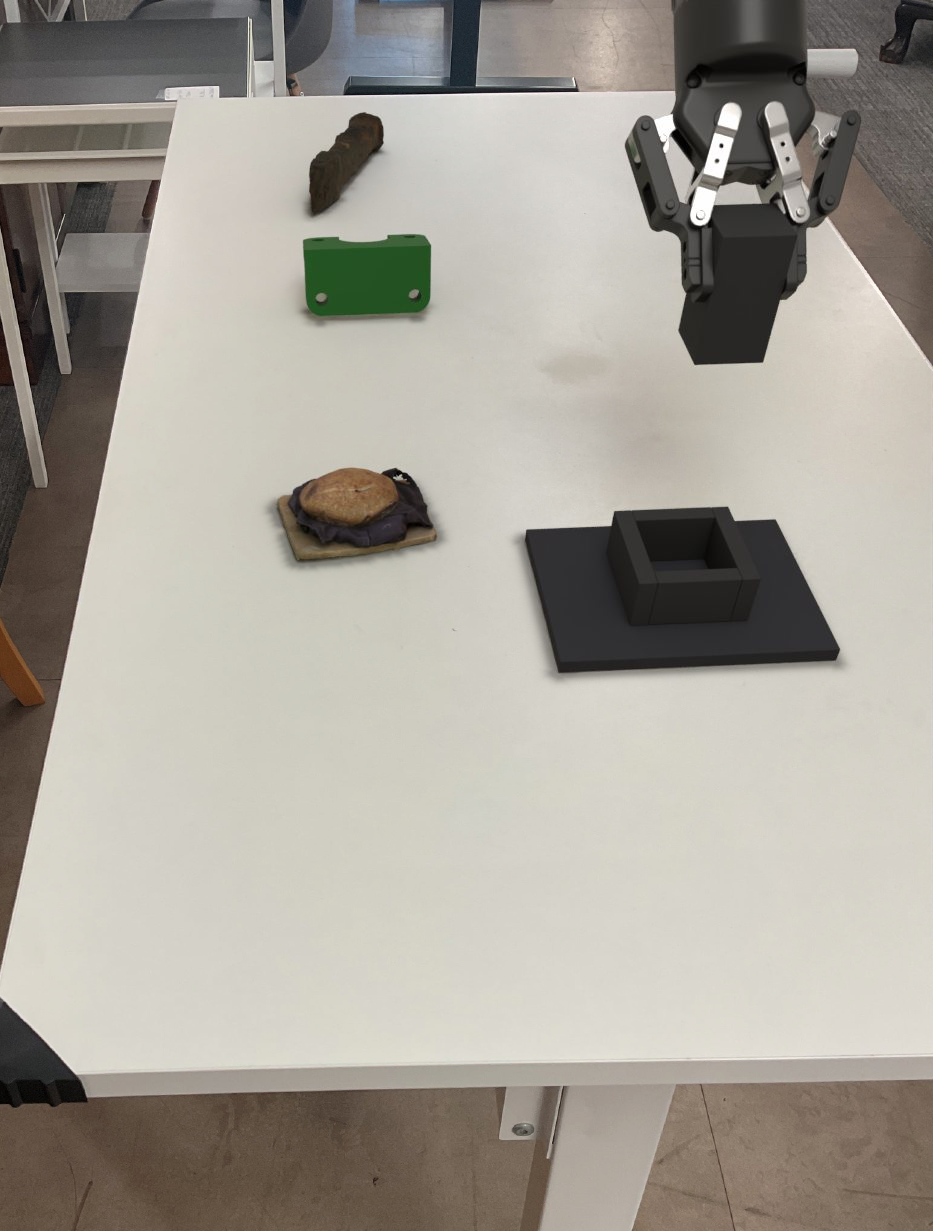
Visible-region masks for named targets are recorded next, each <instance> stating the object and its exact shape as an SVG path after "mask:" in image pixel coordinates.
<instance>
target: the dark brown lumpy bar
mask: <svg viewBox="0 0 933 1231" xmlns="http://www.w3.org/2000/svg"><path fill="white" fill-rule="evenodd" d="M347 126H348V127H347V128H346V129H345V130H344V131H343V132H340V133H339V134H337V135H335V139H334V144H332V146H331V147H330V148H329V150H320V151H319V152H318V153H316V155H315V157H314V158H312V160H311V162H310V164H309V172H308V178H309V185H308V193H309V195H310V198H309V199H310V213H311V214H315V213H319V212H321V211H323V210H324V209H326V208H328V207H329V206H330V205H331V204H332V203H334V202H335V201H337V200H339V199H340V195H341V189H342V186H344V185H345V183H346V182H347V181H348V180H349V179H350V178H351V177H352V176H354V175H355V173H356V171H357V169H358V168H359V167H360V165H362V164H363V163H364V162H365V161H366V159H367V158H368V157H369V155H370V154H371V153H378V152H379V151H380V149H381V148H382V147H383V145H384V144H385V142H384V136H385V130H384V125H383V121H382V119H381V118H380V117H379V116H378V115H374V114H372V113H368V112H365V111H363V112H358V113H357V114H354V115H353V116H351V117H350V118H349V120H348V125H347Z"/></svg>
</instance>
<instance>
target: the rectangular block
mask: <svg viewBox="0 0 933 1231" xmlns="http://www.w3.org/2000/svg"><path fill="white" fill-rule="evenodd" d="M708 228H713V264H714V291H713V293H712V295H711V296H710V297H709V298H708V299H707V300H706V301H705V302H694V303H693V302H692V300H691V293H685V296H684V301H683V306H682V311H681V315H680V320H679V326H678V330H677V331H678V333H679V336H680V337H681V340H682V342H683V344H684V346H685V349H686V351H687V353H688V355H689V357H690V358H691V362H692V363H693V365H694V366H706V365H707V366H708V365H710V366H711V365H736V364H738V365H739V364H741V365H742V364H763V363H764V361H765V358H766V353H767V350H768V347H769V343H770V339H771V336H772V331H773V328H774V326H775V325H774V324H775V321H776V317H777V313H778V310H779V306H780V303H781V300H780V299H781V295H782V291H783V287H784V284H785V280H786V276H787V273H788V270H789V266H790V262H791V259H792V255H793V251H794V248H795V244H796V240H797V237H798V234H797V233H796V231H795V230H794V228H793V227H792V225H791V224H790V222H789V221H788V219H787V218H786V217H785V215H784V214H783V212H782V211H781V209H780V208H779V206H778V205H777V203H763V204H762V203H734V204H730V203H729V204H714V206H713V210H712V213H711V217H710V220H709V221H708Z"/></svg>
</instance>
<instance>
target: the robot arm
mask: <svg viewBox="0 0 933 1231" xmlns="http://www.w3.org/2000/svg"><path fill="white" fill-rule="evenodd" d="M670 9H671V12H672V13H671V14H672V17H673V18H672V19H673V21H672V22H673V55H674V56H673V57H674V60H673V61H674V93H675V94H674V96H675V100H674V105H673V108H672V110H671V111H670V114H668V115H664V116H660V117H658V118H656V119H654V118H653V117H652V116H650V115H647V114H645V115H641V116H639V117H638V118H637V119H636V121H635V122H634V125H633V127H632V129H631V131H630V132H629V134H628V136H627V138H626V140H625V141H624V150H625V154H626V156H627V159H628V162H629V166H630V169H631V172H632V175H633V178H634V181H635V185H636V188H637V191H638V194H639V197H640V201H641V204H642V208H643V210H644V214H645V218H646V220H647V224H648V226H649V228H650V229H651V230H652V231H653V232H656V233H661V232H664V231H665V232H669V233H670V234H673V235H675V236H676V237H677V238H678V240H679V243H680V267H681V270H680V273H681V287H682V289H683V291H684V293H685V294H686V293H691V300H692V302H693V303H694V302H705V301H706V300H707V299H708V298H709V297H710V296H711V295H712V293H713V291H714V264H713V228H708V221H709V220H710V217H711V213H712V210H713V206H714V205H715V202H716V199H717V195H718V191H719V190H720V187H724V186H727V185H730V184H734V183H739V184H742V185H743V184H744V185H748V186H755V189H756V191H757V194H758V197H759V200H760V204H763V203H777V205H778V206H779V208H780V209H781V211H782V212H783V214H784V215H785V217H786V218H787V219H788V221H789V222H790V224H791V225H792V227H793V228H794V230H795V231H796V233H797V234H798V237H797V240H796V244H795V248H794V251H793V255H792V259H791V262H790V266H789V270H788V273H787V276H786V280H785V284H784V287H783V291H782V295H781V299H780V301H786V300H789V299H790V297H791V296H793V295H794V294H795V293H796V292H797V290H798V287H799V286H800V285H801V284H803V283H804V282H805V279H806V277H807V274H808V264H807V262H808V259H807V258H808V257H807V254H808V253H807V250H808V248H807V230H808V229H809V228H811V229H814V228H815V229H816V228H818V227H819V226H820V225H821V224H823V222H824V221H825V219H827V218H828V217H829V216H830V215H831V214H832V213H834V211H836V210H837V209H838V207H839V206H840V204H841V200H842V196H843V193H844V189H845V184H846V181H847V177H848V174H849V169H850V166H851V162H852V159H853V155H854V151H855V148H856V143H857V139H858V135H859V132H860V128H861V124H862V117H861V115H860V113H859V112H857V110H852V109H849V110H846V111H845V112H844V113H843V114H842V115H841V116H838V115H835V114H831V113H828V112H824V111H820V110H817V109H816V104H815V101H814V99H813V98H812V96H811V94H810V92H809V88H808V84H807V79H808V65H809V64H808V63H809V60H808V58H809V57H808V56H809V55H808V53H809V52H808V1H807V0H671V1H670ZM805 134H808V135H809V136H810V138H811V141H812V143H811V144H812V145H811V150H812V154H813V156H814V157H818V158H817V163H816V167H815V170H814V174H813V178H812V182H811V186H810V189H809V193H808V196H807V195H806V193H805V190H804V187H803V183H802V179H803V169H802V165H801V162H800V159H799V156H798V153H797V151H796V148H797V146H798V145H799V143H800V142H801V140H802V139H803V137H804V136H805ZM670 138H672V140H673V141H674V142H675V144H676V145H677V147H678V148H679V149H680V151H681V152H682V153H683V155H684V156H685V158H686V159H687V160H688V161H689V163H690V165H691V166H692V167H693V169H692V172H691V176H690V180H689V184H688V186H687V190H686V194H685V197H684V202H682V201H680V198H679V195H678V190H677V188H676V185H675V181H674V179H673V178H674V177H673V176H672V172H671V169H670V166H669V162H668V159H667V156H666V154H667V153H668V152H669V150H670V147H671V142H670Z"/></svg>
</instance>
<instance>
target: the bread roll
mask: <svg viewBox="0 0 933 1231" xmlns="http://www.w3.org/2000/svg"><path fill="white" fill-rule="evenodd" d="M398 477H400V478H401V479H396V478H398ZM276 508H277V509H278V510H279V514H280V518H281V520H282V524H283V525H284V528H285V530H286V535H287V537H288V540H289V543H290V546H291V548H292V550H293V553H294V557H295V558H296V560H297V561H299V560H309V559H310V560H312V559H313V560H317V559H320V560H321V559H329V558H332V559H333V558H337V557H339V559H341V558H342V557H347V556H349V557H353V556H358V554H359V555H364V556H365V555H367V554H371V553H379V552H381V551H389V550H394V551H395V552H396V551H398V550H399V549H400V548H403V547H410V546H412V545H425V543H429V542H433V541H437V538H438V534H437V530H436V528H435V526H434V524H433V522H432V520H431V518H430V516H429V514H428V504H427V503H426V502H425V499H424V497H423V494H422V492H421V490H420V488H419V486H418V484H417V483H416V481H415V480H414V478H413V477H412V476H411V475H410V474H409V473H407V472H404V471H403V470H401V469H399V468H397V467H393V468H388V469H386V470H383V471H382V472H381V473H380V472H376V471H373V470H370V469H367V468H361V467H360V468H359V467H343V468H339V469H336V470H332V471H329V472H328V473H325V474H323V475H321V476H319V477H318V478H313V479H310V480H307V481H306V482H304V483H301V485H298V486H296V487H295V488H293V489H292V492H291V494H284V495H282V496H280V497H279V498H277V502H276Z"/></svg>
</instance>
